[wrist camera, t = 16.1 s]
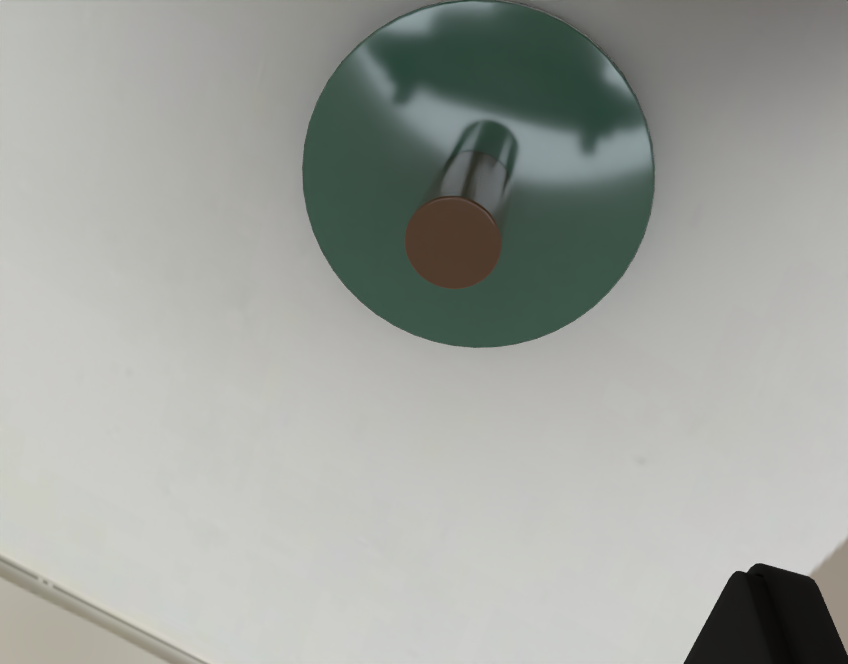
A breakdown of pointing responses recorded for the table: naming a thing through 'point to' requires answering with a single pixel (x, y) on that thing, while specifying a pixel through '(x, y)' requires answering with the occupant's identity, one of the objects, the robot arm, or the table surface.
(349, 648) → the table surface
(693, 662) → the robot arm
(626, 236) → the lid
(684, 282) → the table surface
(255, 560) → the table surface
